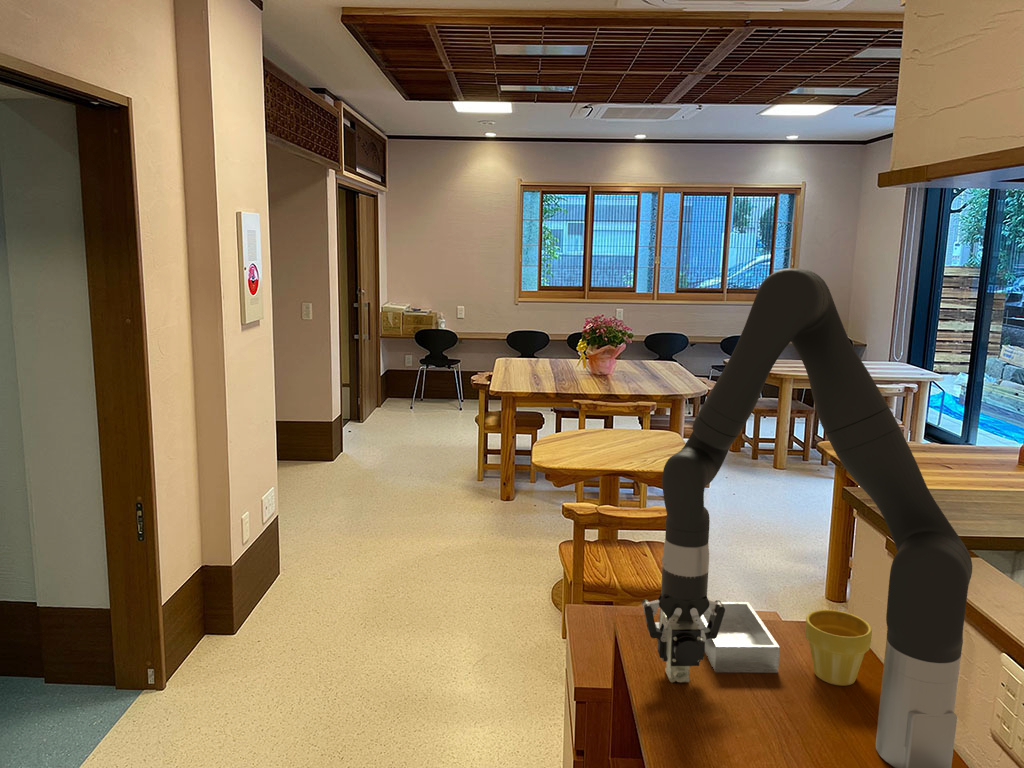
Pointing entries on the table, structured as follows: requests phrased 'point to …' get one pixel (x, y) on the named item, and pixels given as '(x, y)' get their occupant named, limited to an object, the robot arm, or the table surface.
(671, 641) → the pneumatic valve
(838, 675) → the plant pot
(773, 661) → the seat cradle
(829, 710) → the table surface
